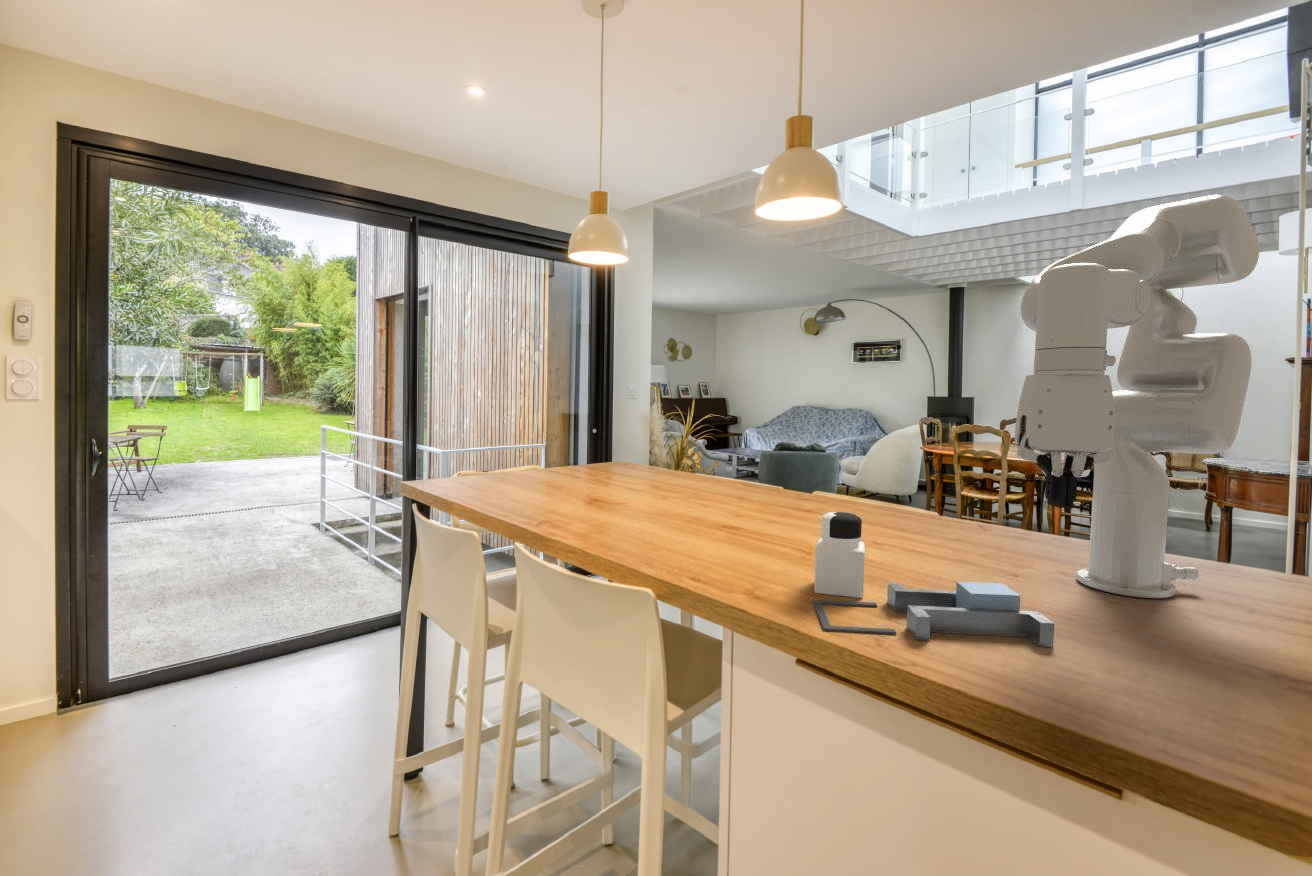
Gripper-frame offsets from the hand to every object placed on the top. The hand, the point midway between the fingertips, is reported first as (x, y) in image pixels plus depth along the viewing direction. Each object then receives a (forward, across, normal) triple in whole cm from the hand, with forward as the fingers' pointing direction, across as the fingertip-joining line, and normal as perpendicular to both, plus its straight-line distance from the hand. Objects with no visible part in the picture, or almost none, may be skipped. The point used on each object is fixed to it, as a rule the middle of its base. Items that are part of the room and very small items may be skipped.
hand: (1059, 505), depth 78 cm
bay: (+16, +25, 0) cm, 30 cm away
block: (+16, +8, 0) cm, 18 cm away
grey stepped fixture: (+16, +11, 0) cm, 20 cm away
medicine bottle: (+17, +25, -12) cm, 33 cm away
